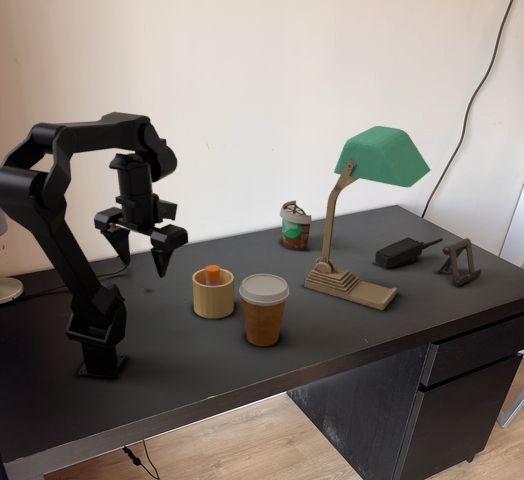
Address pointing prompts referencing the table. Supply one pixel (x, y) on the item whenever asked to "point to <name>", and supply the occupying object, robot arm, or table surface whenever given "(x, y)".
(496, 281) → the table surface
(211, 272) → the glue stick
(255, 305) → the disposable coffee cup
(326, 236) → the banker's lamp
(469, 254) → the tablet stand
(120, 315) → the robot arm
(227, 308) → the pen pot
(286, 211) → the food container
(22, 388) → the table surface
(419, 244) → the walkie-talkie
